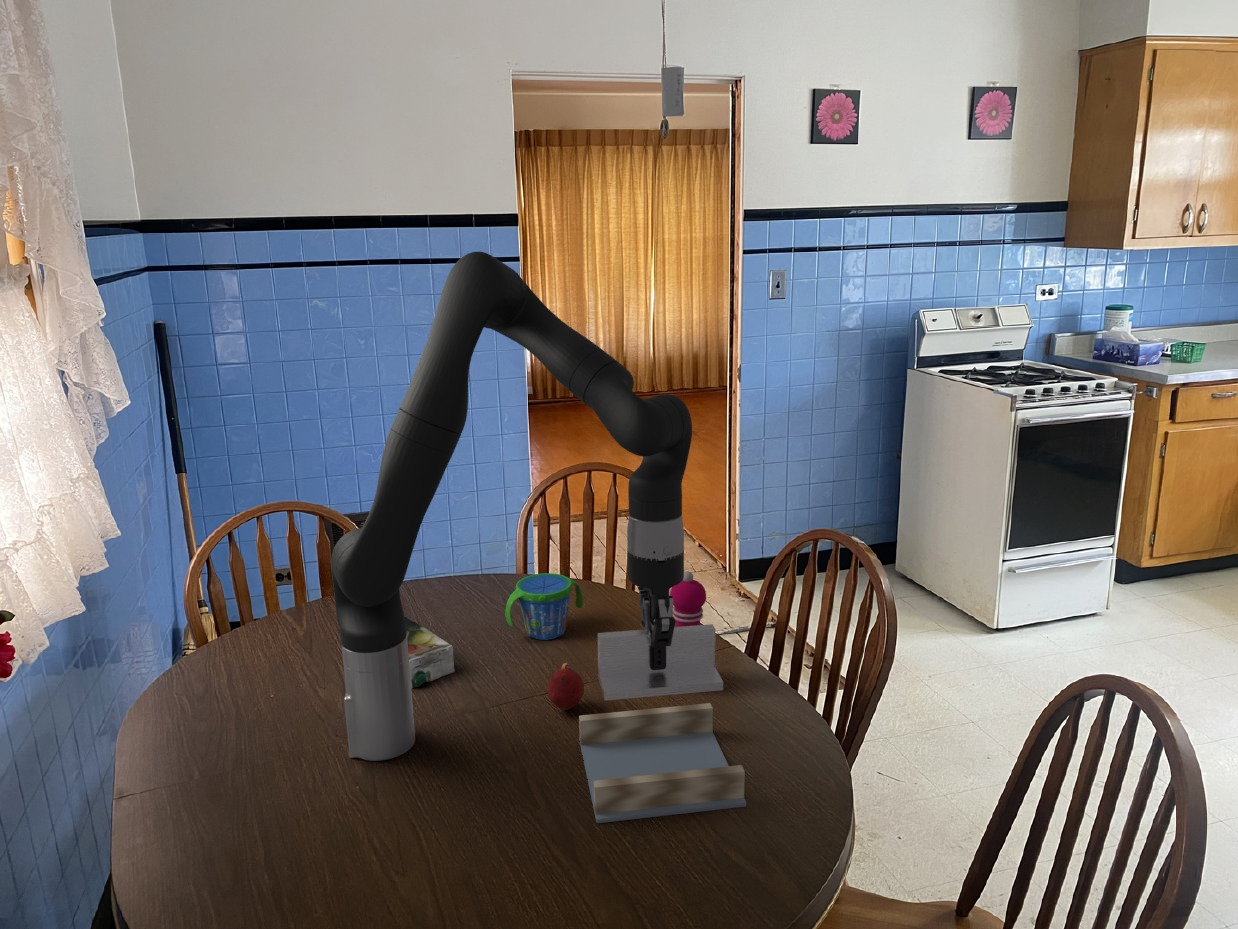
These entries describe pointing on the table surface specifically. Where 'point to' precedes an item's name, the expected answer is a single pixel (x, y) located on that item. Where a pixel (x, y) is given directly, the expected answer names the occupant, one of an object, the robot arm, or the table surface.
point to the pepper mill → (688, 601)
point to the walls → (666, 785)
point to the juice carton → (427, 655)
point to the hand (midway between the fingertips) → (656, 665)
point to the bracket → (633, 678)
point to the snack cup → (544, 604)
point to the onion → (565, 688)
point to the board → (655, 768)
